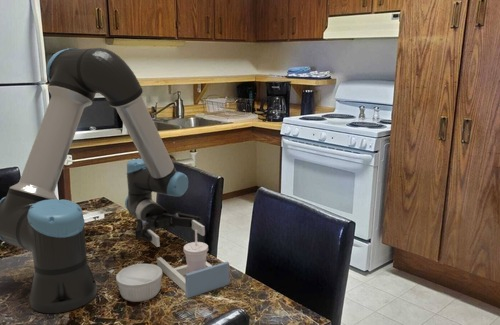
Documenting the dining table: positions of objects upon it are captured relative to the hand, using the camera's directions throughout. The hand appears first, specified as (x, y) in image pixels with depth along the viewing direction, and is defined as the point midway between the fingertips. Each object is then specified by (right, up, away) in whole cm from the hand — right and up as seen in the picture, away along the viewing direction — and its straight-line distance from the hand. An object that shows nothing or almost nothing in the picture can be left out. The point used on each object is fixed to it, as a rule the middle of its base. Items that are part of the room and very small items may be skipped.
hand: (181, 236), depth 118 cm
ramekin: (-9, -12, -10) cm, 18 cm away
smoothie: (+5, -11, -5) cm, 13 cm away
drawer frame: (+3, -10, -2) cm, 11 cm away
